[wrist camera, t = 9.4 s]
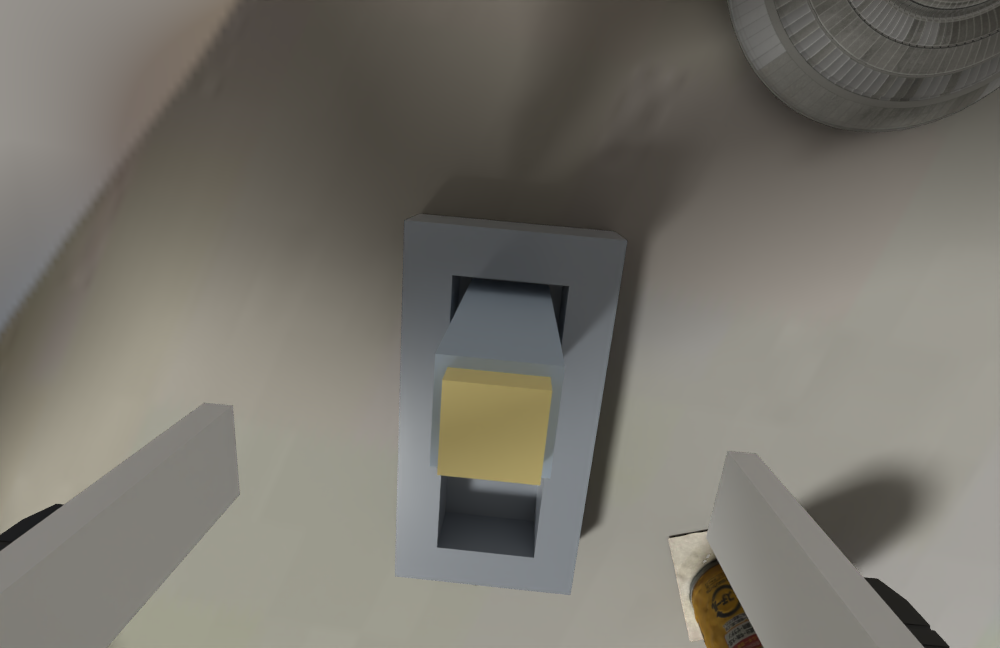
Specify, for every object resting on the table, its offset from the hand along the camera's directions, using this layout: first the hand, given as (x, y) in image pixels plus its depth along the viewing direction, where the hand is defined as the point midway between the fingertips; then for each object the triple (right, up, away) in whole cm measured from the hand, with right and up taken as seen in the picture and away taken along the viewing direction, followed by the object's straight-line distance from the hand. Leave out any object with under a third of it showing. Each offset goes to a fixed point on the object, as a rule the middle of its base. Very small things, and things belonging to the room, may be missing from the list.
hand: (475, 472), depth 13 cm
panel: (+1, 0, +15) cm, 15 cm away
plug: (+1, +4, +13) cm, 14 cm away
